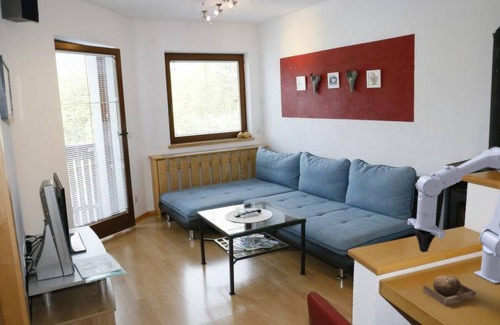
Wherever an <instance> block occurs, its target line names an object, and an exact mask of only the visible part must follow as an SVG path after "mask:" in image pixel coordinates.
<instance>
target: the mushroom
mask: <svg viewBox="0 0 500 325" xmlns="http://www.w3.org/2000/svg"><path fill="white" fill-rule="evenodd" d="M460 283H461V282H460V280H459V278H458V277H456V276H454V275H449V274H441V275H437V277H435V279H434V280H433V284H432V285H433V286H432V287H433V290H434V291H436V292H437V293H439V294H440V295H442V296H444V297H445V298H447V297H451V296H455V295H458V294H459V292H460V290H459V289H460Z"/></svg>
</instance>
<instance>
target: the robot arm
mask: <svg viewBox="0 0 500 325" xmlns="http://www.w3.org/2000/svg"><path fill="white" fill-rule="evenodd" d="M484 168H492V169H496V170H497V171H498V172H499V173H500V147H498V146H493V147H491V148H489V149H486V150H484V151H483V152H482V153H481V154H479V155H477V156H475V157H473V158H471V159H469V160H466V161H465V162H463V163H461V164H460V165H457V166H454V165H445V166H443V168H442V169H440V170H438V171H436V172H431V173H430V175H422V176H420V177H419V178H418V179H417V181H416V183H414V184H415V188H416V190H417V192H418V195H417V208H416V209H417V210H416V218H412V217H411V218H407V225H408V226H413V228H414V229H415V230H413V233H414V235H415V236H416V239H417V243H418V247H419V252H421V253H427V252H429V249H430V246H431V244H432V242H433V240H434V238H435V237H437V238H438V239H445V238H446V231H445V230H442V229H440V228H439V227H438V226H437V225H436V220H437V219H436V218H437V209H438V208H437V205H438V196H439V195H440V194H441V193H442V191H443V190H445V189H447V188H449V187H450V186H453V185H456V183H460V182H461V180H462V178H463V176H464V177H465V176H466V175H469V174H472V173H474V172H477V171H479V170H483V169H484ZM478 240H479V242H480V244H481V245H482V253H481V255H482V256H481V267H480V270H477V271H474V274H475V275H477V276H479V277H480V278H483V279H484V280H487V281H489V282H490V283H493V284H498V283H499V284H500V192H499V193H498V197H497V200H496V204H495V207H494V211H493V214H492V218H491V222H489V223H486V224H485V226H484V228H483V229H482V231H481V232H480V234H479V238H478Z"/></svg>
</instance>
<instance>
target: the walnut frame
mask: <svg viewBox="0 0 500 325" xmlns="http://www.w3.org/2000/svg"><path fill="white" fill-rule="evenodd" d="M422 287H423V288H422V292H423V293H425V294H426V295H427V296H429V297H431V298H433V299H434V300H436V301H437V302H439V303H441V304H442V305H443V306H450V305H453V304H457V303H461V302H465V301H468V300H472V299H476V295H477V291H476V290H473V289H471V288H470V287H468V286H466V285H464V284H462V283H461V282H460V289H459V292H461V293H458V294H456V295H454V296H451V297H444V296H442V295H440V294H439V293H437V292H436V291H435V290H434V289H432V288H430V287H429V286H428V285H423V286H422Z"/></svg>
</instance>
